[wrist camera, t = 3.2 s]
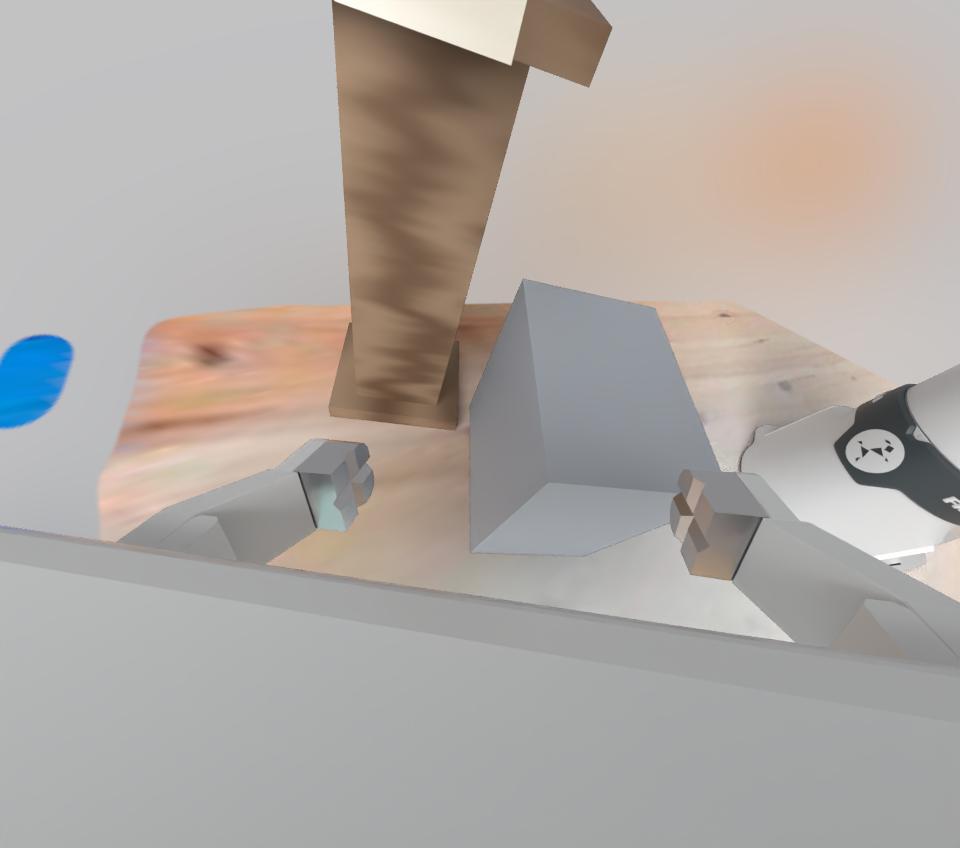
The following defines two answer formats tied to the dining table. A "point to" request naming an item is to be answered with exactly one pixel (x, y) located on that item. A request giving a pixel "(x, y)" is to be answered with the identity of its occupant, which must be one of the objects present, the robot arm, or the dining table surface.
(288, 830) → the robot arm
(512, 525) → the display block
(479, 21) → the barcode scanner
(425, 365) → the shelf stand
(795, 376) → the dining table surface
